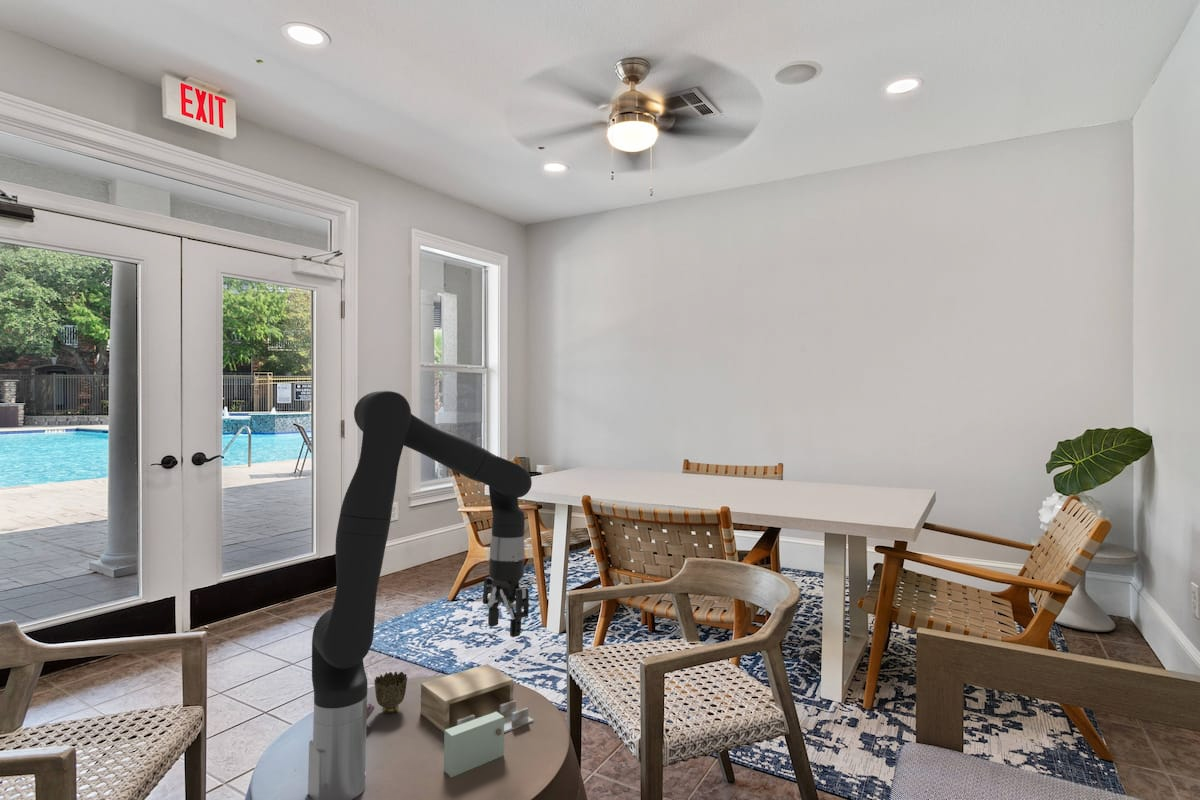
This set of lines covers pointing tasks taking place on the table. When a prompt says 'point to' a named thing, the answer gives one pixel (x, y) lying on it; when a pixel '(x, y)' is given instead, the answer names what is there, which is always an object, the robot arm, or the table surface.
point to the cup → (390, 691)
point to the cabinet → (471, 698)
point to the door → (473, 743)
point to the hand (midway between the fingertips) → (503, 630)
